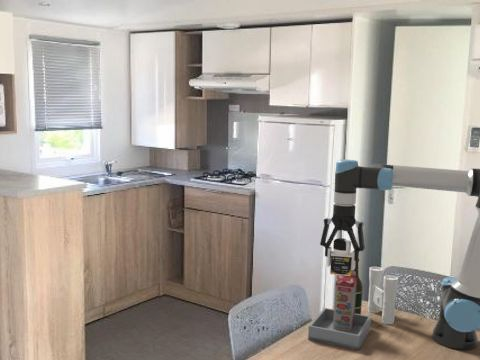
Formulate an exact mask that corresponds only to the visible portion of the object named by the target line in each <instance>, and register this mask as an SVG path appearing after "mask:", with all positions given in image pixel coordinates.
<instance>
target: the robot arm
mask: <svg viewBox="0 0 480 360" xmlns="http://www.w3.org/2000/svg"><path fill="white" fill-rule="evenodd" d="M335 163H336V164H335V170H334V171H335V172H334V174H335V175H334V191H333V193H334V195H333V203H334V204H333V207H332V208H333V209H332V211H333V212H332V216H331V217H330V218H329V217H325V218H324V219H323V229H322V234H321V239H320V242H319V245H320V246H322V247H324V257H326V258H327V259H326V262H327V263H326V267H329V268H330V266H331V253H332V250H333V247H332V246H331V244H332V243H333V242H334V240H335V236H336V234H337V233H338V232H339V231H343V232H347V235H348V236H349V240H350V241H351V246H352V248H353V250H352V265H351V270H354V269H355V262H356V261H358V259H359V260H360V258H359V255H360V252H363V251H364V250H365V249H366V248H365V247H366V245H365V239H364V237H365V236H364V230H363V229H364V225H365V224H364V221H359V220H356V205H355V204H356V201H357V189H365V190H367V189H368V190H379V191H390V190H392V189H393V187H403V188H410V189H411V188H412V189H424V190H425V189H426V190H436V191H446V192H456V193H457V192H458V193H465V194H466V195H467V196H469V197H476V198H477V200H476V203H475V209H476V211H477V213H478V215H477V217H476V220H475V224H474V227H473V230H472V232H471V235H470V236H471V237H470V239H469V243H468V246H467V250H466V252H465V254H464V258H463V261H462V264H461V268H460V271H459V275H458V277H453V276H451V277H449V276H448V277H445V278H443V279H442V280H441V281H442V282H441V284H440V286H441V293H440V303H439V304H440V307H439V316H438V319H437V322H436V324H435V325H434V328H433V330H432V339H433V341H434V342H436V343H437V344H439V345H442V346H444V347H447V348H451V349H455V350H472V349H475V348H477V346H478V335H477V332H476V330H477V329H479V328H480V168H473V167H472V168H470V169H468V170H461V169H448V168H446V169H445V168H437V167H421V166H410V165H409V166H408V165H395V164H394V165H393V164H384V163H382V162H381V163H380V162H375V163H372V164H371V165H370V166H361V165H360V166H359V162H358V160H355V159H339V160H337V161H336V162H335ZM331 224H333V225H334V228H333V229H332V230H331V233H330V235H329V237H328V233H329V228H330V225H331ZM354 226H355V227H356V228H357V236H358V238H356V234H355V233H354ZM327 237H328V239H327ZM357 239H358V240H357ZM357 241H358V242H357Z"/></svg>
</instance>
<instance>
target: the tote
mask: <svg viewBox="0 0 480 360" xmlns="http://www.w3.org/2000/svg"><path fill="white" fill-rule="evenodd" d="M333 320H334V308H329V307H328V308H327V307H324V308H323V309H322V310H321V311H320V312H319V314H317V315H316V317H315V318H314V319H313V320H312V321H311V323H310V324H309V325H308V333H307V336H308V337H307V340H310V341H313V342H320V343H322V344H323V343H324V344H328V345H333V346H338V347H342V348H343V347H344V348H347V349H352V350H357V351H359V350H360V348H361V346H362V345H363V344H364V341H365V339H366V338H367V336H368V334H369V332H370V331H371V326H372V325H371V324H372V323H371V322H372V316H370V315H364V314H361V315H360V314H355V317H354V326H353V328H352V331H351V332H350V331H344V330H339V329H333Z"/></svg>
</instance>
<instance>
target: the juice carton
mask: <svg viewBox="0 0 480 360" xmlns="http://www.w3.org/2000/svg"><path fill="white" fill-rule="evenodd" d="M356 285H357V277H356V272H355V271H351V276H344V275H336V278H335V285H334V286H335V287H334V302H333V303H334V304H333V305H334V306H333V309H334V320H333V329H339V330H344V331H350V332H351V331H352V328H353V326H354V317H355V301H356Z"/></svg>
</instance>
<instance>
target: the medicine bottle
mask: <svg viewBox="0 0 480 360" xmlns="http://www.w3.org/2000/svg"><path fill="white" fill-rule="evenodd" d="M332 246H333V247H332V253H331V265H330V266H329V268H330V269H329V274H330V275H333V276H337V275H344V276H351V265H352V252H353V250H351V249H352V242H351V240H350V239H348V238H342V237H341V238H339V237H338V238H336V239H335V238H334V239H333V245H332Z"/></svg>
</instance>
